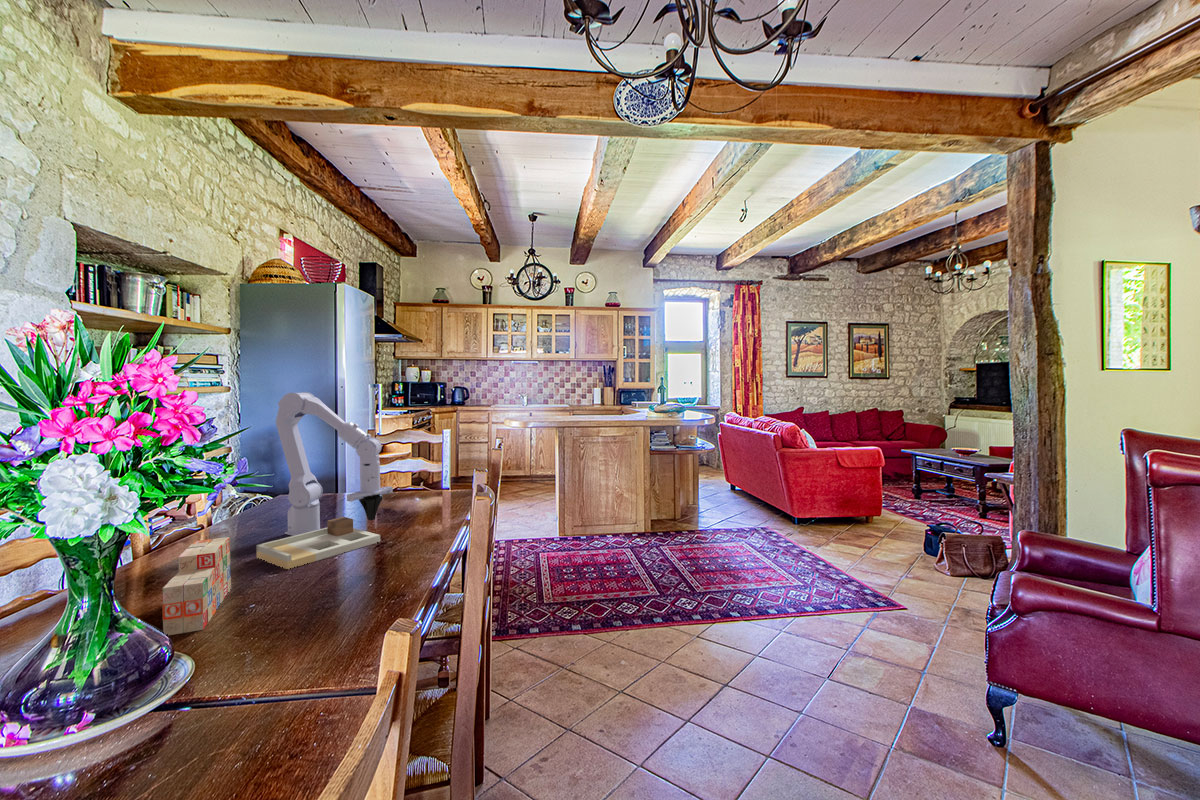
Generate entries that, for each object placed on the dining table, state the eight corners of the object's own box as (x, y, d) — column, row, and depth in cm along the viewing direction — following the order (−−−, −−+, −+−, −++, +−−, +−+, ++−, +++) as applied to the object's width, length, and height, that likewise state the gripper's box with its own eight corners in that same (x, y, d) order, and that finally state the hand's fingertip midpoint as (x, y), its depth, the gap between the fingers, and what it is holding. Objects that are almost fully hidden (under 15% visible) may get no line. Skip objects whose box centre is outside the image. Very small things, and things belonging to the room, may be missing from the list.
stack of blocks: (204, 630, 96) (202, 566, 96) (162, 637, 93) (160, 572, 93) (231, 589, 116) (229, 535, 115) (197, 594, 113) (195, 539, 112)
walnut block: (327, 533, 150) (327, 520, 150) (343, 529, 154) (343, 516, 154) (337, 536, 148) (336, 522, 147) (353, 532, 152) (353, 519, 152)
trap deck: (256, 558, 135) (256, 545, 135) (348, 533, 157) (348, 522, 157) (287, 569, 127) (287, 555, 127) (380, 541, 149) (380, 529, 149)
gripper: (356, 482, 151) (357, 527, 151) (398, 474, 163) (399, 515, 163) (342, 479, 154) (343, 523, 155) (384, 472, 167) (385, 513, 167)
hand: (371, 519), depth 159 cm, fingers closed
